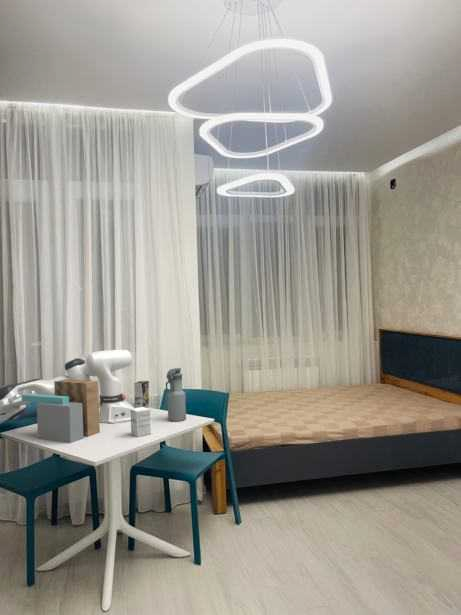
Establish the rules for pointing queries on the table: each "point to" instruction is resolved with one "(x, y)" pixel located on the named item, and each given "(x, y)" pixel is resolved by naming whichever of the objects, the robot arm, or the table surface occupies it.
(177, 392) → the water bottle
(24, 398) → the teal batten
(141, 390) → the coffee box
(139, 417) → the supplement box
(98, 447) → the table surface
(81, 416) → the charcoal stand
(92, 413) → the walnut stand
